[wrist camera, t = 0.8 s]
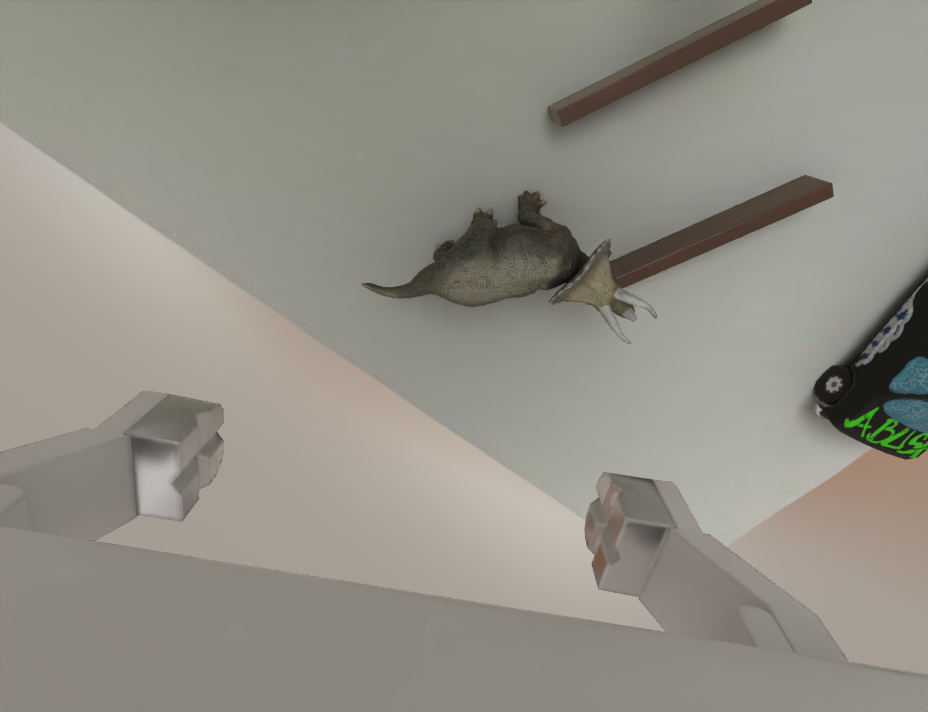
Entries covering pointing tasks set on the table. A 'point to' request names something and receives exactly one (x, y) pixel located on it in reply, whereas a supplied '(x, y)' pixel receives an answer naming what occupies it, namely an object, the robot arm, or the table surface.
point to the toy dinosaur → (521, 267)
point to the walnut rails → (729, 223)
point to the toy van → (885, 386)
